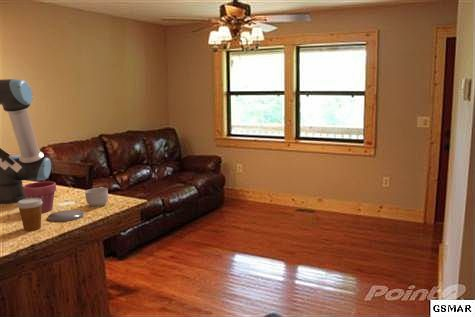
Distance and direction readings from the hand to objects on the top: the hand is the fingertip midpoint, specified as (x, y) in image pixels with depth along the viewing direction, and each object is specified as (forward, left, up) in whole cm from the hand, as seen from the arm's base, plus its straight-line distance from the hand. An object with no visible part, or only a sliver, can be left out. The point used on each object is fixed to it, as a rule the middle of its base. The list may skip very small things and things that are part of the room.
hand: (13, 168), depth 168 cm
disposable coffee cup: (-2, +5, -26) cm, 27 cm away
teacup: (-32, +31, -26) cm, 51 cm away
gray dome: (-15, +17, -26) cm, 34 cm away
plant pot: (-30, +5, -26) cm, 40 cm away
